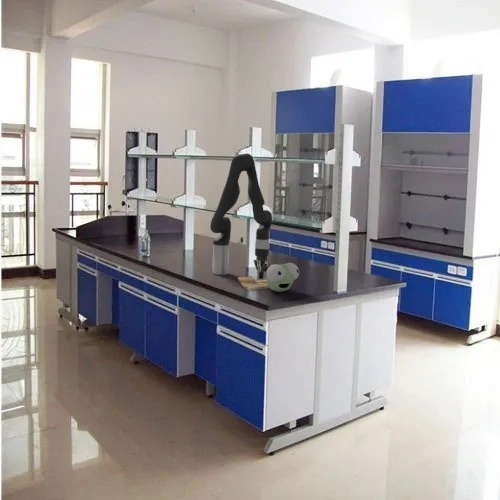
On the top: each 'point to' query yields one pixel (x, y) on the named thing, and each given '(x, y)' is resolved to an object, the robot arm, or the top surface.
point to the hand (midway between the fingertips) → (260, 278)
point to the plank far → (261, 282)
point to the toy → (281, 276)
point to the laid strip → (257, 287)
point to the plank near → (247, 281)
